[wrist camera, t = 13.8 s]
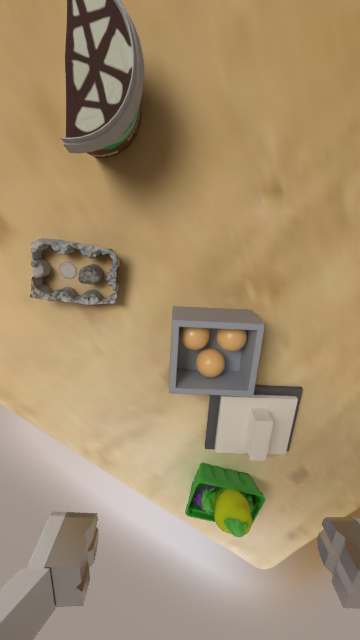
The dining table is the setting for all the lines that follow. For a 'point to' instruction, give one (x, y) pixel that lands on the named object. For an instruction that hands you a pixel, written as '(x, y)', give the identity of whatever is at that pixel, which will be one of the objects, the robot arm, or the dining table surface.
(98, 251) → the egg carton
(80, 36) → the food container
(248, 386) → the crate
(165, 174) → the dining table surface
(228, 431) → the lid
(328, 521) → the robot arm
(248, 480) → the fruit basket
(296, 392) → the mat
